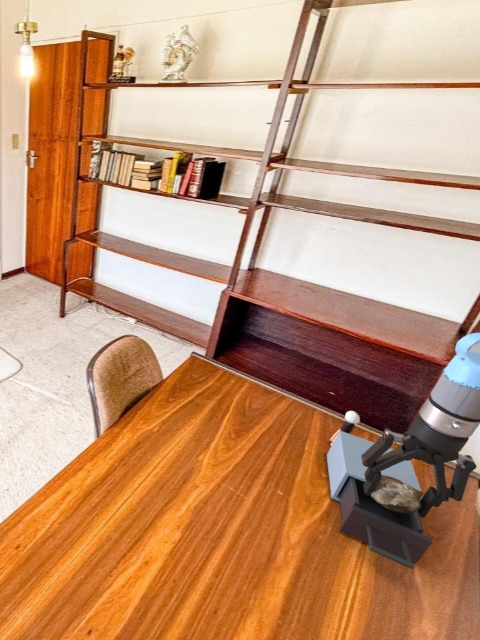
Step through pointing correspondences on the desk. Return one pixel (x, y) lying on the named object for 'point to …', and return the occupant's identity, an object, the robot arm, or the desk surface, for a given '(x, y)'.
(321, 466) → the desk surface
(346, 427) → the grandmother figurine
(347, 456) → the cabinet
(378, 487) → the fossilized seashell
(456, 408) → the robot arm
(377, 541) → the drawer
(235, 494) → the desk surface
